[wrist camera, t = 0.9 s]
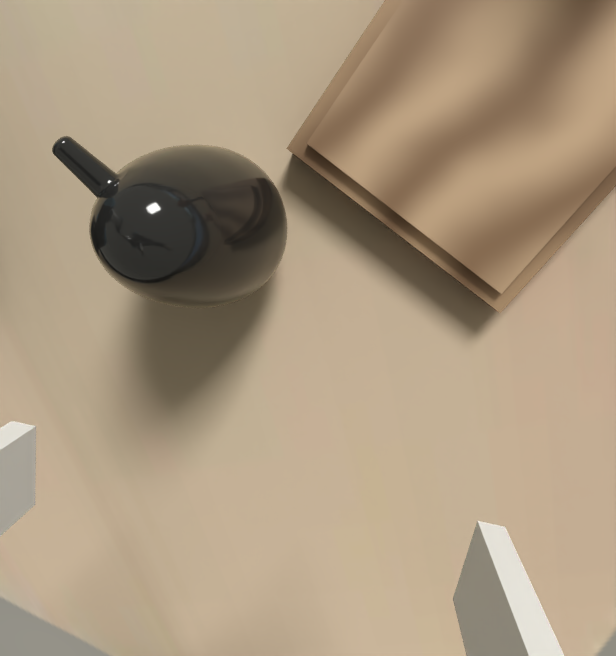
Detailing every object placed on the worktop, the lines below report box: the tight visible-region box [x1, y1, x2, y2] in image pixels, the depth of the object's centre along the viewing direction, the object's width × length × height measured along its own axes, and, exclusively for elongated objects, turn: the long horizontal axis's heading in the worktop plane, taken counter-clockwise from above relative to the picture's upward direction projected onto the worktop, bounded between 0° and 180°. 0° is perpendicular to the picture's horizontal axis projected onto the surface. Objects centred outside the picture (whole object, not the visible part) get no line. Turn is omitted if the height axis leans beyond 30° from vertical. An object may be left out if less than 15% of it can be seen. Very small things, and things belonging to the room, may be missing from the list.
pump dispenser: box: [52, 136, 287, 308], centre depth 27 cm, size 10×10×15 cm
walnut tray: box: [287, 0, 616, 313], centre depth 29 cm, size 18×18×3 cm
